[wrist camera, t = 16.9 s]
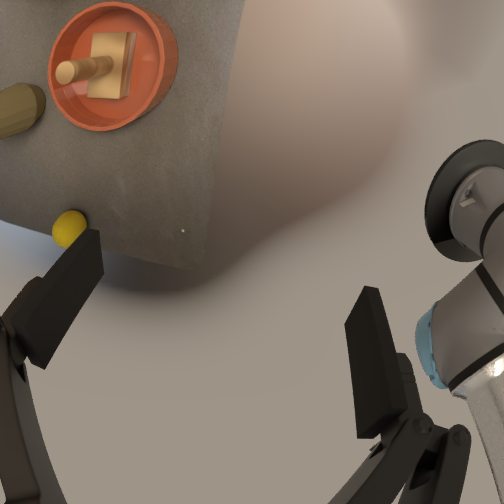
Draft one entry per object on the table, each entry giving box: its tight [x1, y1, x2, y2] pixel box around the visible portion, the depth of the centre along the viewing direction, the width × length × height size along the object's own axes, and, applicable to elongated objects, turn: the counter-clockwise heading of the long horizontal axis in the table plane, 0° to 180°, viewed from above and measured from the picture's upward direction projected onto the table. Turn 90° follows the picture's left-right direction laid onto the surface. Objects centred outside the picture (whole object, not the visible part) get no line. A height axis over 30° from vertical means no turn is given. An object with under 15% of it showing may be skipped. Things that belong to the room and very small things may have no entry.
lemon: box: [52, 210, 87, 248], centre depth 46 cm, size 6×6×8 cm
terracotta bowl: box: [48, 1, 178, 131], centre depth 33 cm, size 17×17×6 cm
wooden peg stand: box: [56, 32, 137, 99], centre depth 29 cm, size 9×5×12 cm, turn 169°
